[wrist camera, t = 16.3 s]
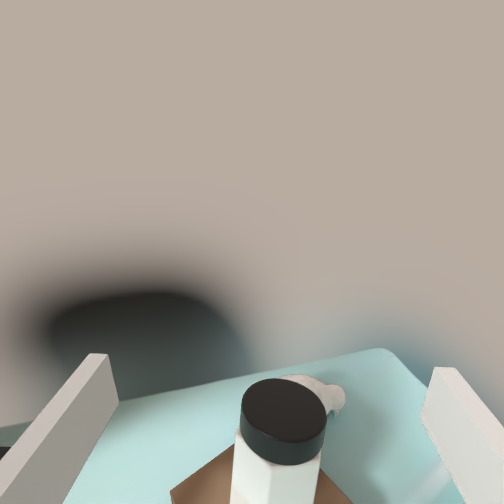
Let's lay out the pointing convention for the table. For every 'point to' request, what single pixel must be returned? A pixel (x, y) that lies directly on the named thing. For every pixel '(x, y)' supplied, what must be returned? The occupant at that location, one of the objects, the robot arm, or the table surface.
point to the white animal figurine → (322, 391)
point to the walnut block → (219, 485)
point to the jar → (278, 444)
